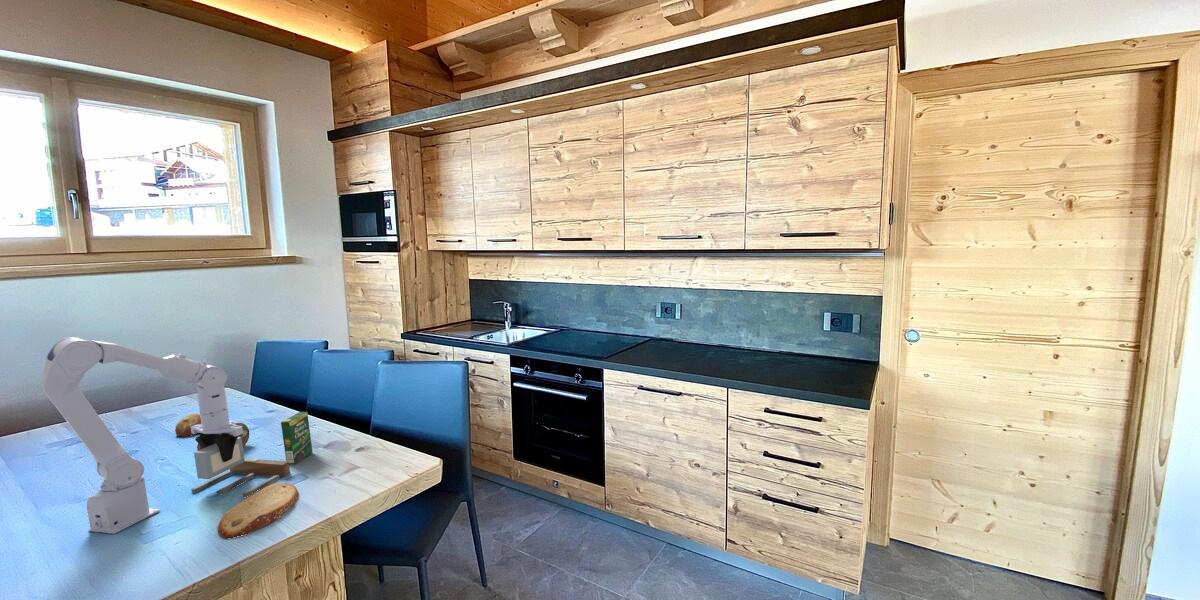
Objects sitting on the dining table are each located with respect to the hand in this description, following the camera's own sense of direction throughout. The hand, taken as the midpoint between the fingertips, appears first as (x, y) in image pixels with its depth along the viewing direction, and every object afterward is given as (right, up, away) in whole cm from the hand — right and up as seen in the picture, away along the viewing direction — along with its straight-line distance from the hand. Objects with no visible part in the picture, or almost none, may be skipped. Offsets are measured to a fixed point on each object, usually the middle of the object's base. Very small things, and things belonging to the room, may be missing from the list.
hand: (221, 459), depth 129 cm
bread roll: (-41, -4, +41) cm, 58 cm away
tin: (-15, -5, +21) cm, 26 cm away
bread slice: (+20, -9, -13) cm, 25 cm away
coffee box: (+12, -5, +15) cm, 20 cm away
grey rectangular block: (0, -3, 0) cm, 3 cm away
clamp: (+4, -7, +1) cm, 8 cm away
